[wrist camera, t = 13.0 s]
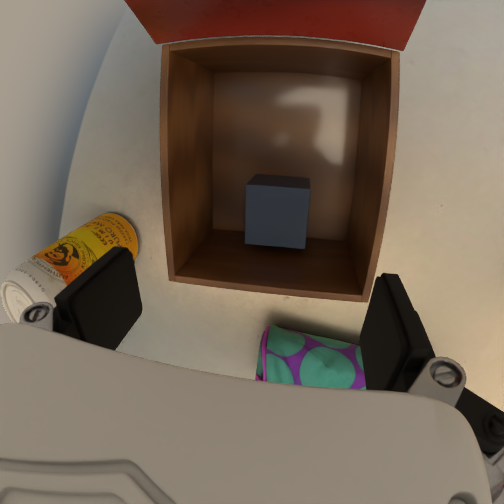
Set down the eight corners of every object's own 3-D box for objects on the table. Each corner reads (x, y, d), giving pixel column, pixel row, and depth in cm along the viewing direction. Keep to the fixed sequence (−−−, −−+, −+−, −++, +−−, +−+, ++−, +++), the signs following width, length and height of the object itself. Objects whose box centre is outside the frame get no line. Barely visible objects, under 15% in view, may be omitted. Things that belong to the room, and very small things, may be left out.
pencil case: (251, 362, 34) (234, 427, 26) (269, 304, 30) (254, 373, 22) (403, 392, 33) (415, 451, 24) (438, 343, 29) (463, 404, 20)
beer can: (146, 222, 29) (44, 301, 15) (137, 271, 32) (53, 359, 18) (99, 203, 29) (-8, 263, 15) (94, 251, 32) (4, 323, 18)
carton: (210, 68, 22) (161, 44, 13) (366, 76, 20) (399, 51, 12) (209, 231, 28) (168, 281, 20) (350, 244, 26) (368, 303, 18)
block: (255, 173, 25) (245, 184, 21) (309, 177, 24) (310, 189, 20) (254, 224, 27) (244, 243, 23) (305, 228, 26) (304, 249, 22)
